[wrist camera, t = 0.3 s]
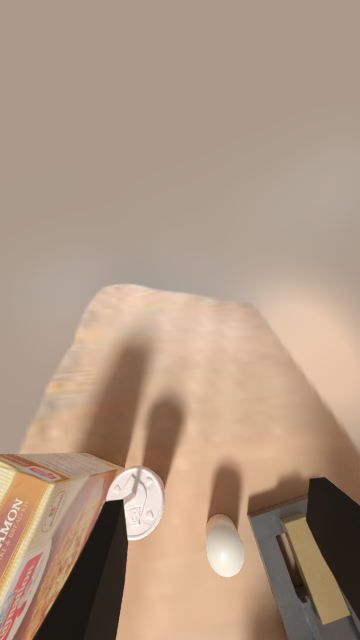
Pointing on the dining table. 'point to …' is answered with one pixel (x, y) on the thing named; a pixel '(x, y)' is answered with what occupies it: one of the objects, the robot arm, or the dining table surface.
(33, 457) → the coffeecake box
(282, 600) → the jig
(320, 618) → the shunt bar
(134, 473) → the smoothie
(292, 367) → the dining table surface
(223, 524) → the white capsule cylinder
